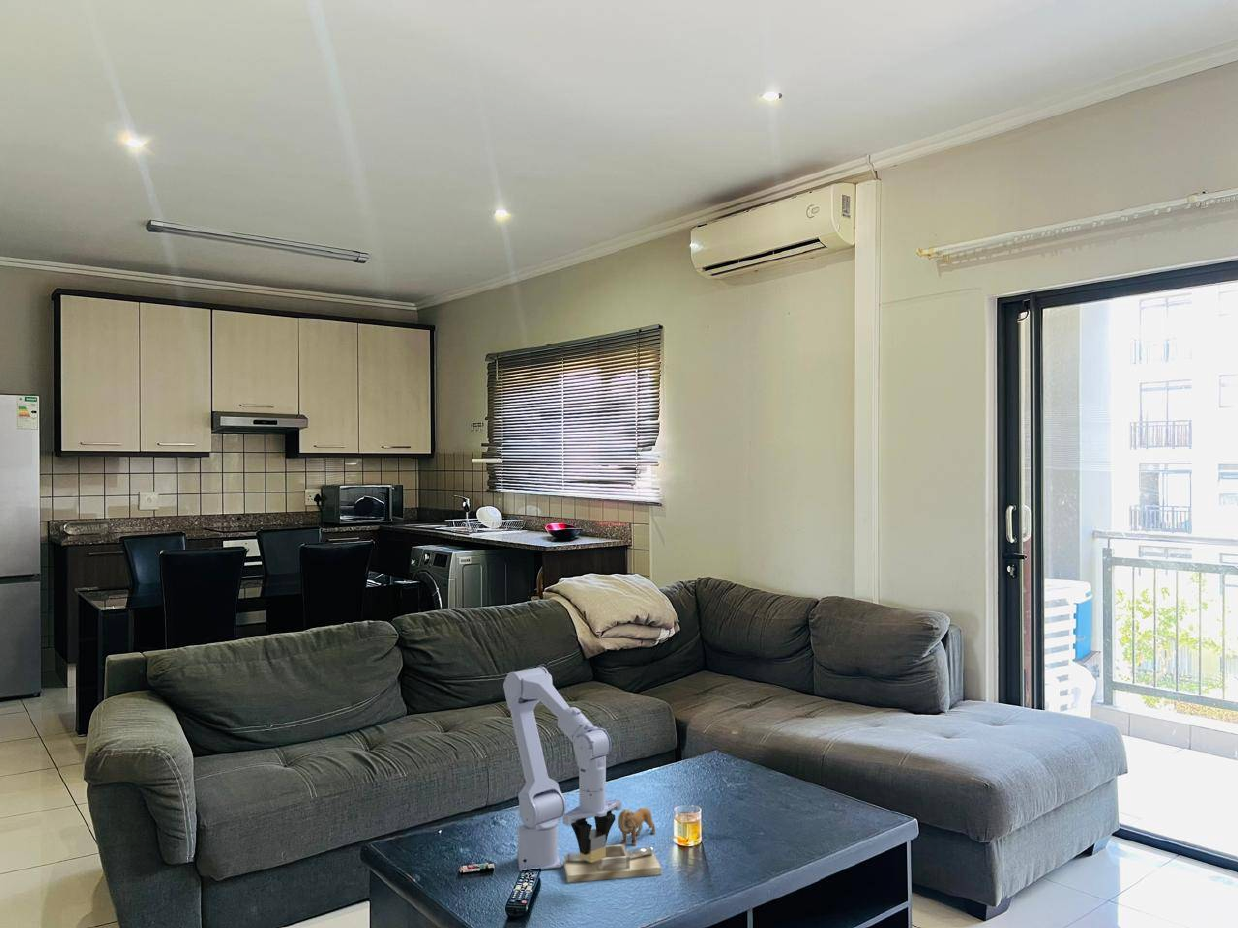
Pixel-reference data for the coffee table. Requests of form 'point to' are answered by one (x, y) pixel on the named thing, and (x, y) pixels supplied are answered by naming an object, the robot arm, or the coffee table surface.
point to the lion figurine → (634, 823)
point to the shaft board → (612, 866)
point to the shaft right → (641, 852)
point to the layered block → (595, 846)
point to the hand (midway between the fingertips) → (592, 849)
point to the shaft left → (574, 857)
